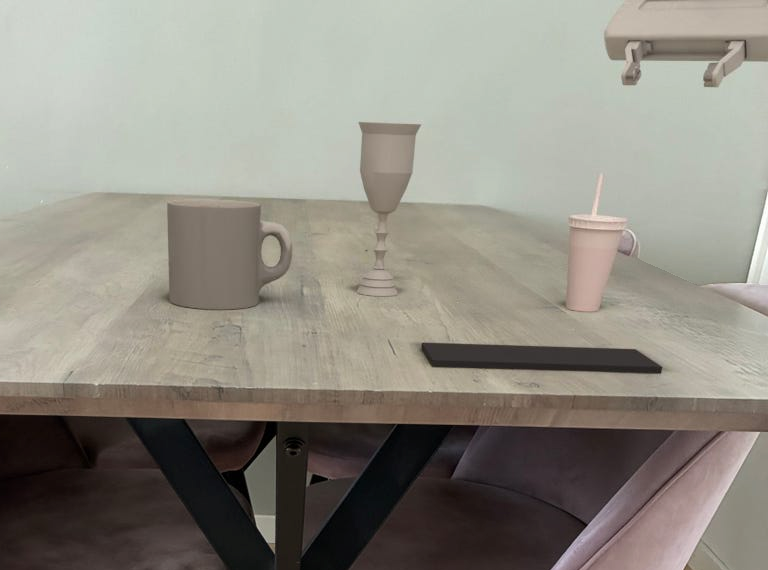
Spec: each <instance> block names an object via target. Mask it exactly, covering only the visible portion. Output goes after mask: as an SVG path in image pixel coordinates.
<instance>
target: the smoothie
mask: <svg viewBox="0 0 768 570" xmlns="http://www.w3.org/2000/svg"><path fill="white" fill-rule="evenodd" d="M604 174H605V173H597V179H596V186H595V191H594V196H593V203H592V209H591V213H589V214H586V213H583V214H582V213H579V214H571V215H569V216H568V222H567V225H566V226H568V227H569V238H568V256H567V257H568V258H567V259H568V261H567V277H566V278H567V279H566V296H565V297H566V298H565V299H566V300H565V308H566V309H568V310H570V311H576V312H588V313H589V312H590V313H591V312H599V310H600V308H601V304H602V302H603V298H604V295H605V291H606V288H607V285H608V282H609V278H610V275H611V271H612V268H613V265H614V262H615V259H616V255H617V252H618V249H619V247H620V243H621V239H622V236H623V233H624V231H625V230H627V229H628V222H629V220H628V218H626V217H620V216H611V215H603V214H597V213H598V208H599V202H600V196H601V191H602V186H603V180H604Z"/></svg>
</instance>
